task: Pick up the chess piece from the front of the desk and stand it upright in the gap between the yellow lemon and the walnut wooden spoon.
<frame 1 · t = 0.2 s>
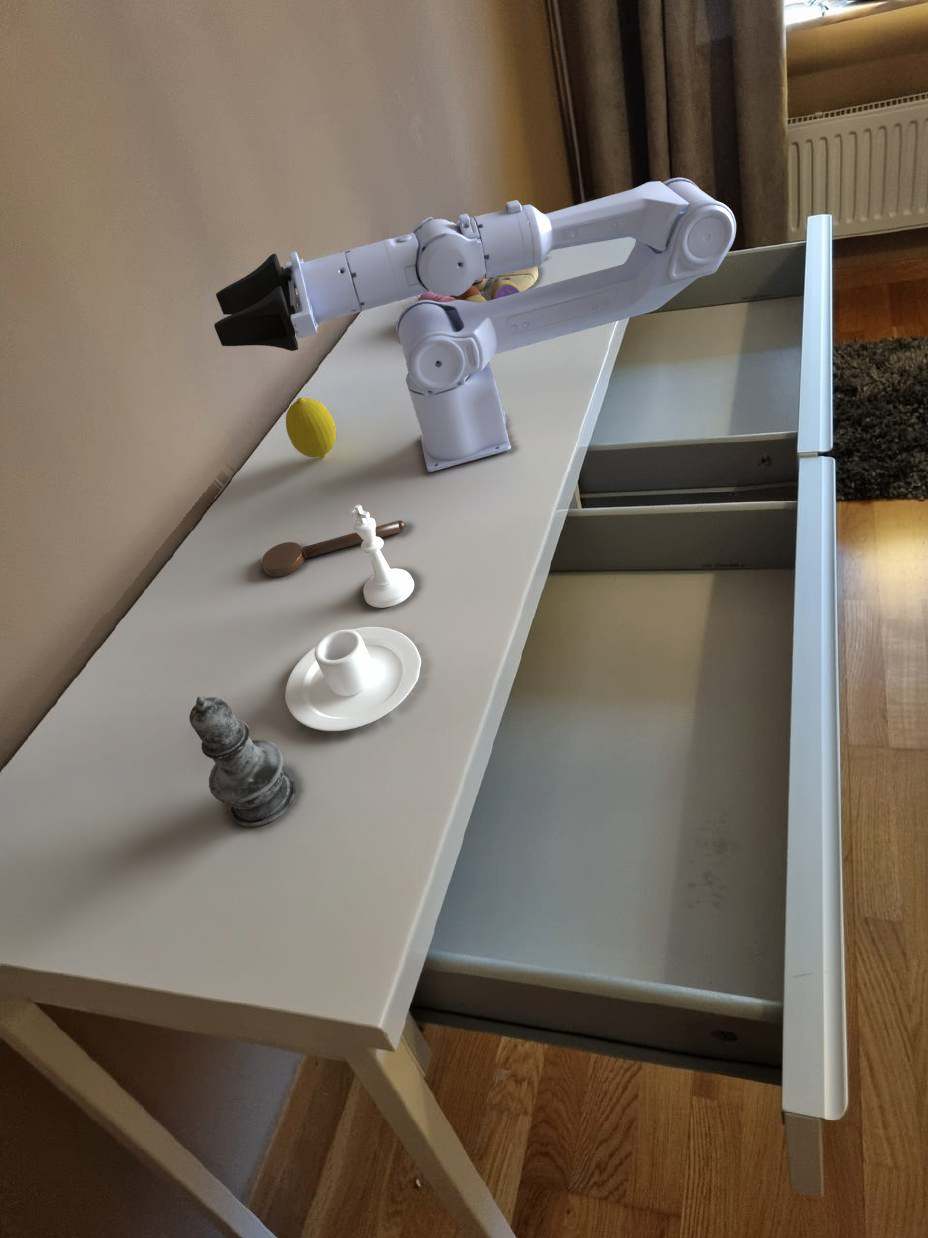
hand: (218, 318, 87), 21 cm above the table, tool horizontal, fingers open, 7 cm apart
dark grey turned piece: (264, 799, 69), on the table
toy food set: (477, 304, 128), on the table
spoon: (326, 551, 91), on the table
chess piece: (389, 591, 85), on the table
candle holder: (355, 683, 77), on the table
lemon: (323, 458, 106), on the table
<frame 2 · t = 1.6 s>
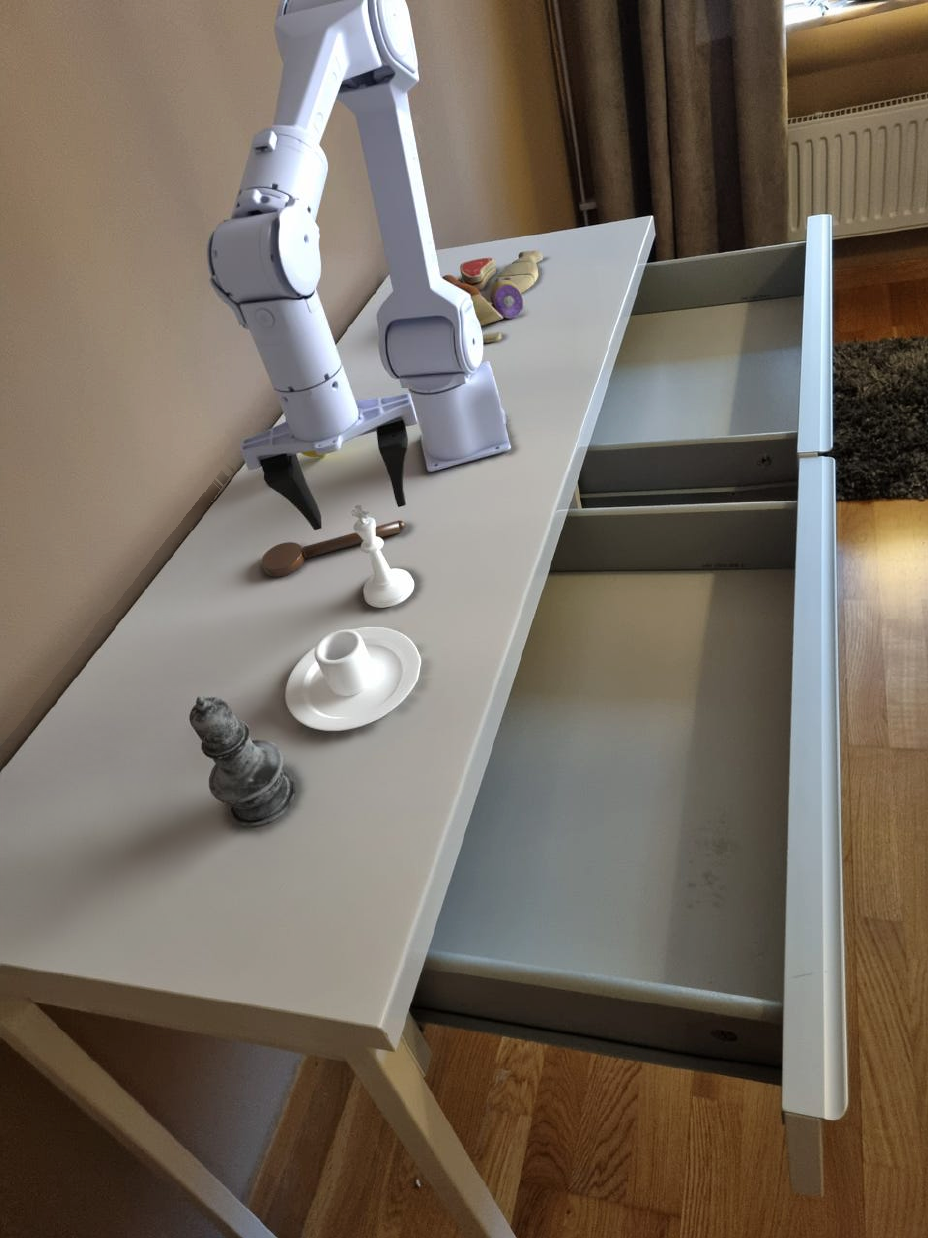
hand: (359, 511, 78), 9 cm above the table, tool pointing down, fingers open, 7 cm apart
nothing on the table moved.
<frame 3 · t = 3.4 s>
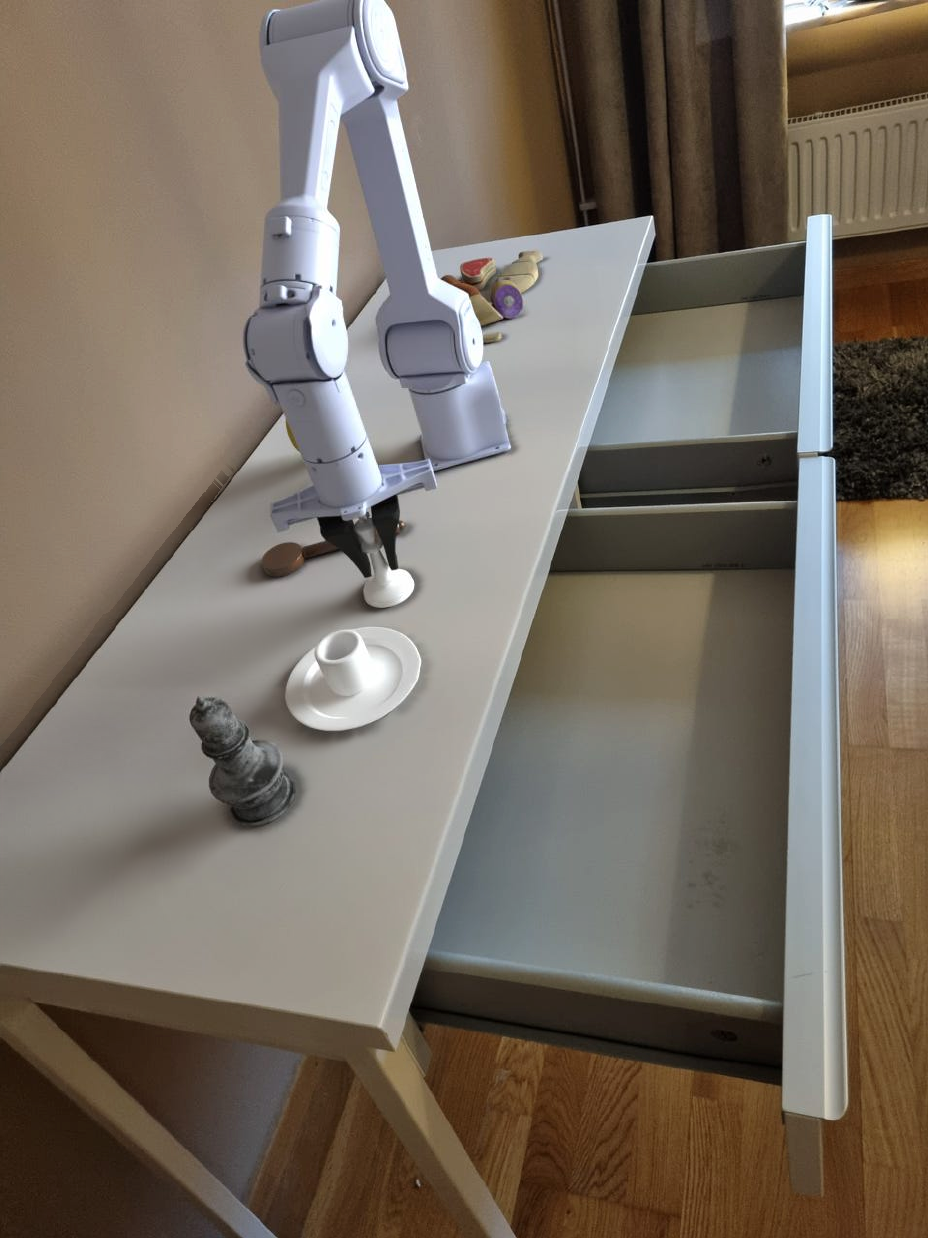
hand: (380, 567, 83), 3 cm above the table, tool pointing down, fingers closed on chess piece
chess piece: (389, 591, 85), on the table, touching gripper
everything else where it was.
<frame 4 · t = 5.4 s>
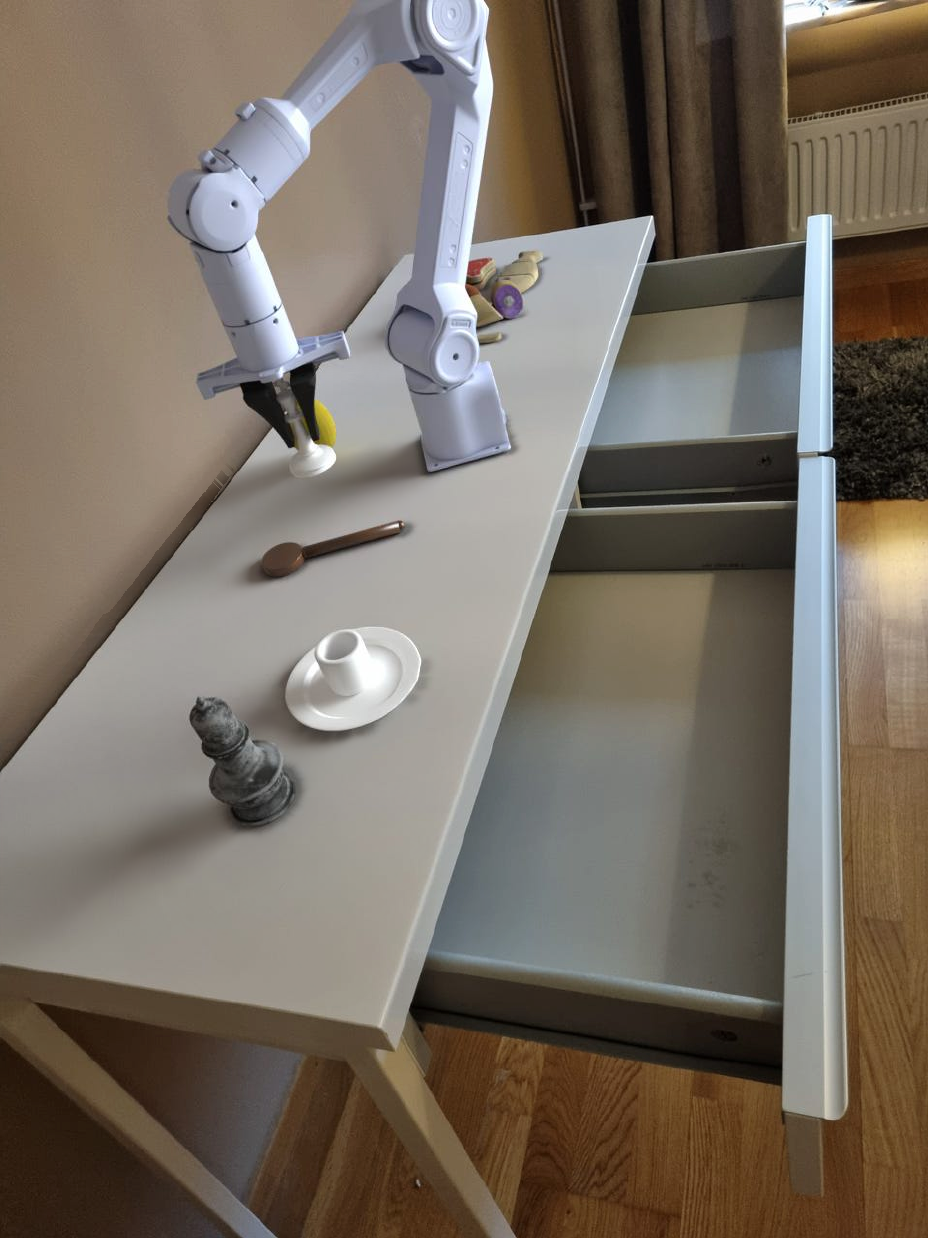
hand: (303, 439, 89), 10 cm above the table, tool pointing down, fingers closed on chess piece
chess piece: (314, 465, 91), point 7 cm above the table, touching gripper
everything else where it was.
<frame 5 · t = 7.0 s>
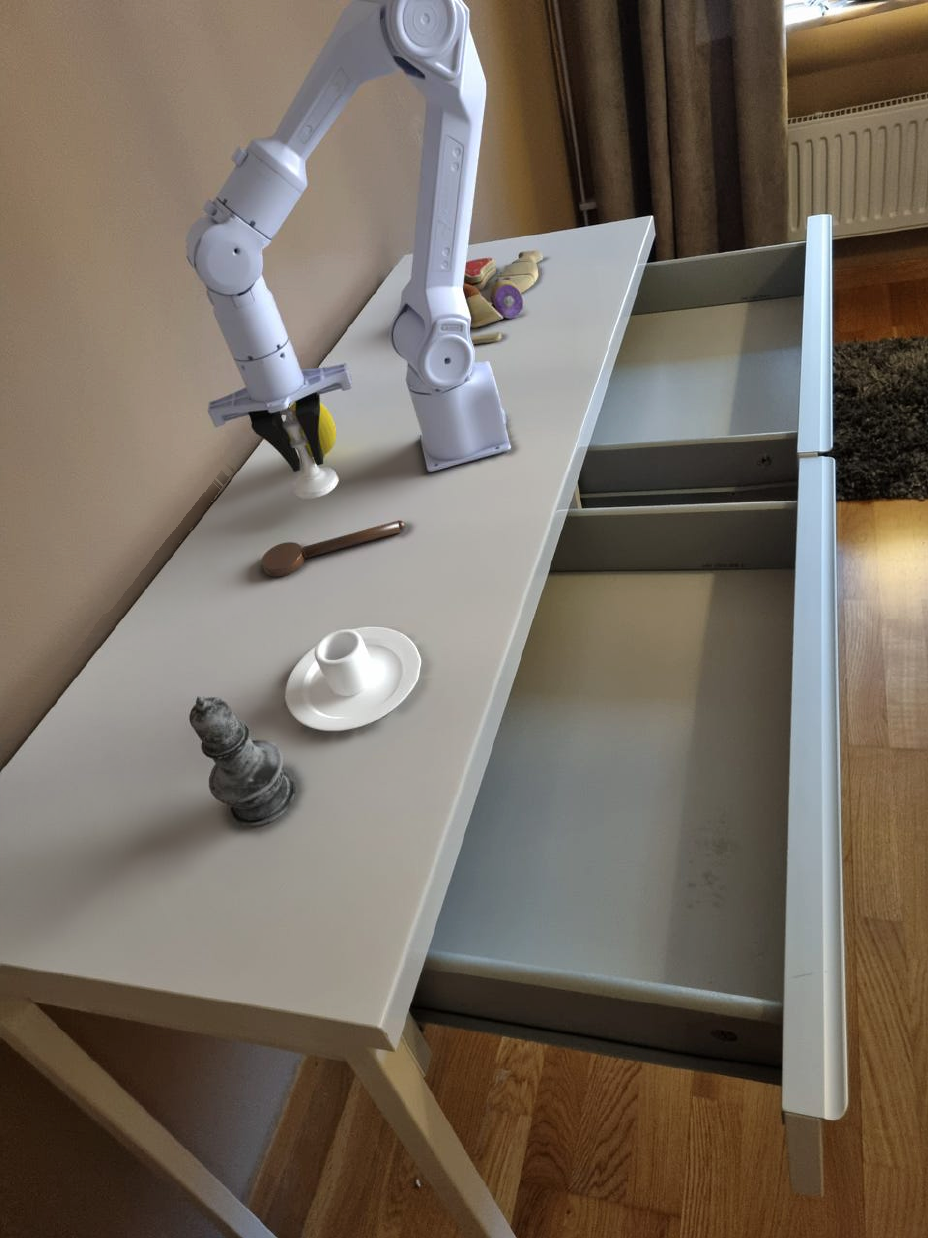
hand: (308, 463, 95), 5 cm above the table, tool pointing down, fingers closed on chess piece
chess piece: (317, 486, 97), point 2 cm above the table, touching gripper
everything else where it was.
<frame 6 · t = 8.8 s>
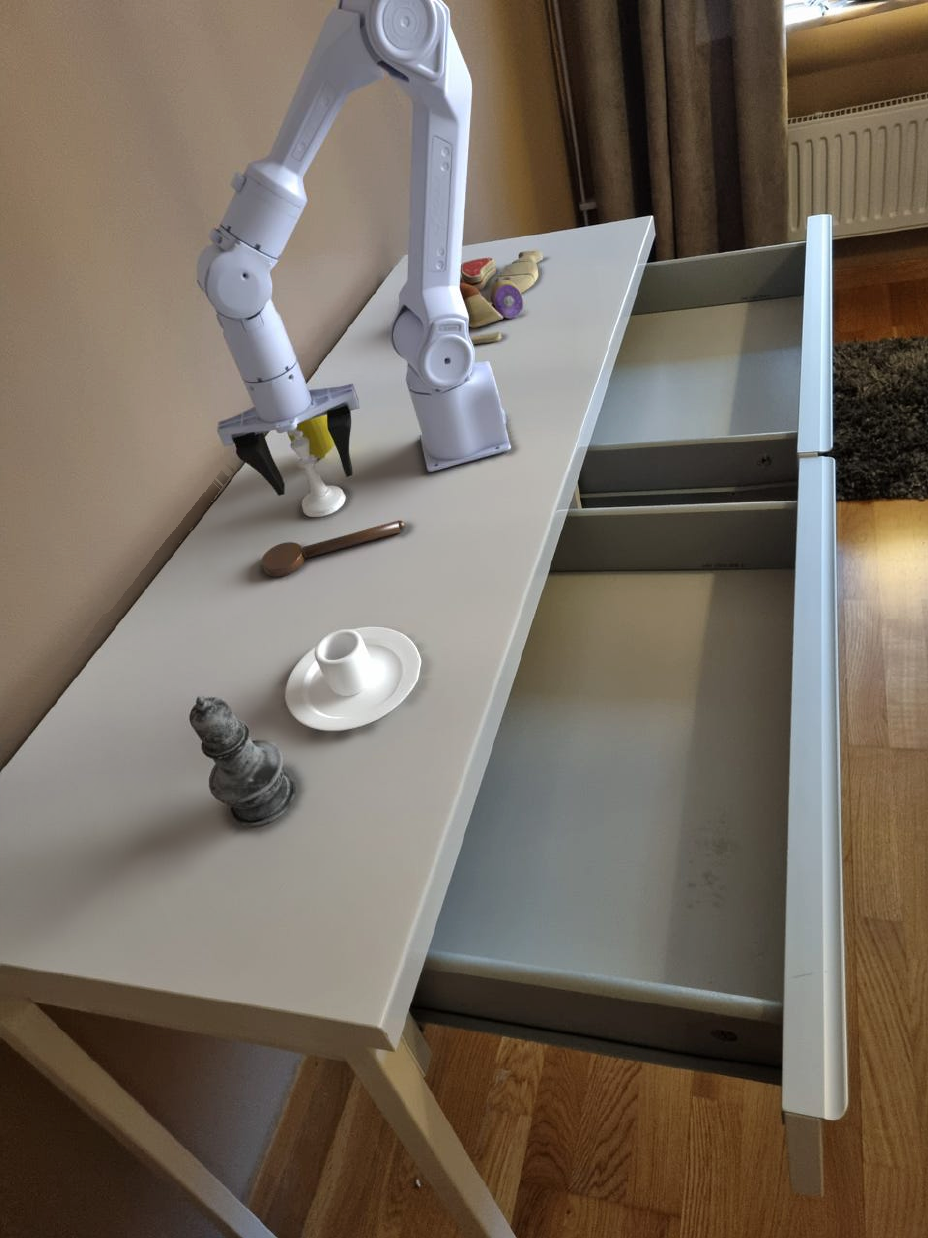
hand: (315, 480, 96), 3 cm above the table, tool pointing down, fingers open, 7 cm apart
chess piece: (325, 505, 98), on the table
everything else where it was.
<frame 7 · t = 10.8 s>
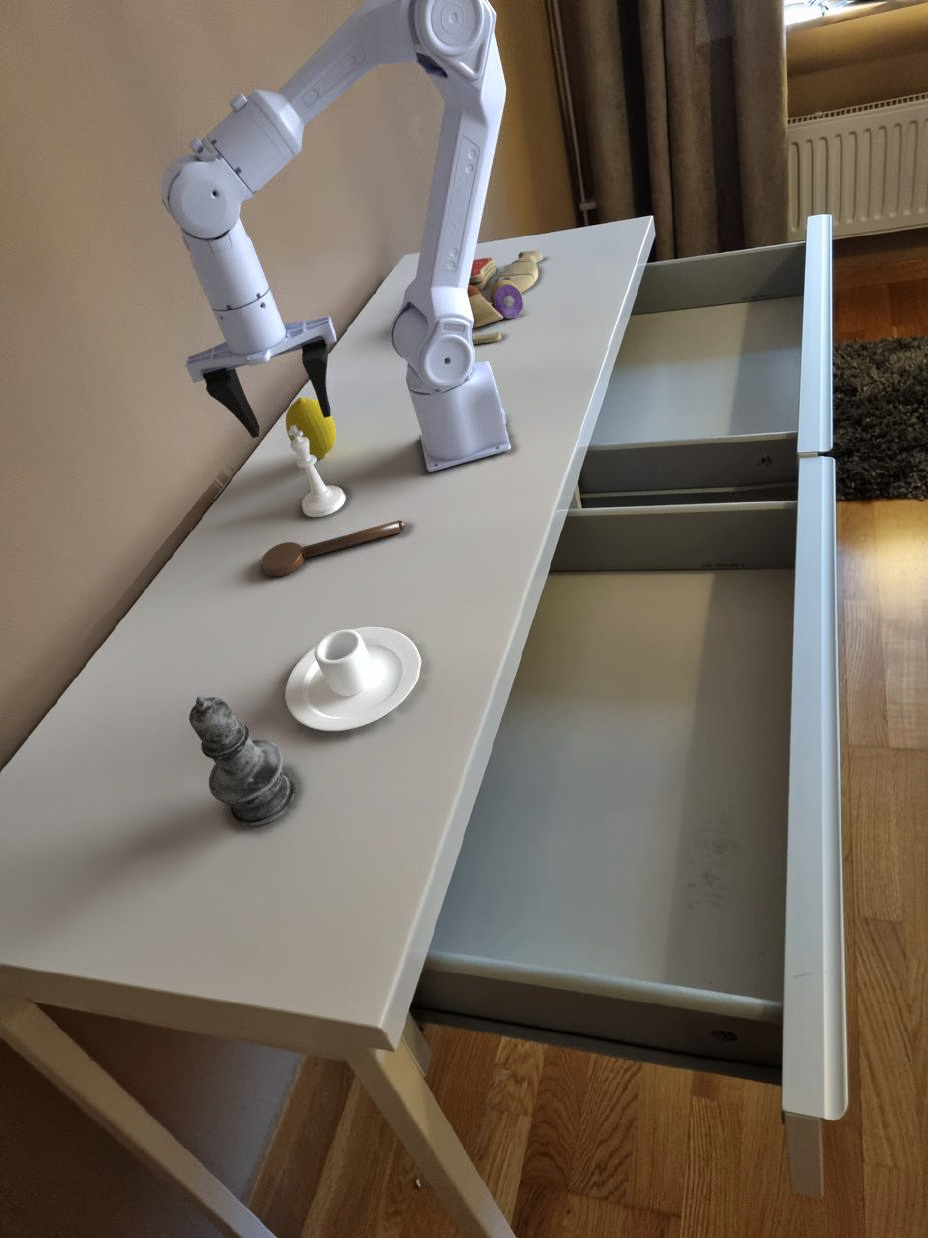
hand: (291, 422, 91), 10 cm above the table, tool pointing down, fingers open, 7 cm apart
nothing on the table moved.
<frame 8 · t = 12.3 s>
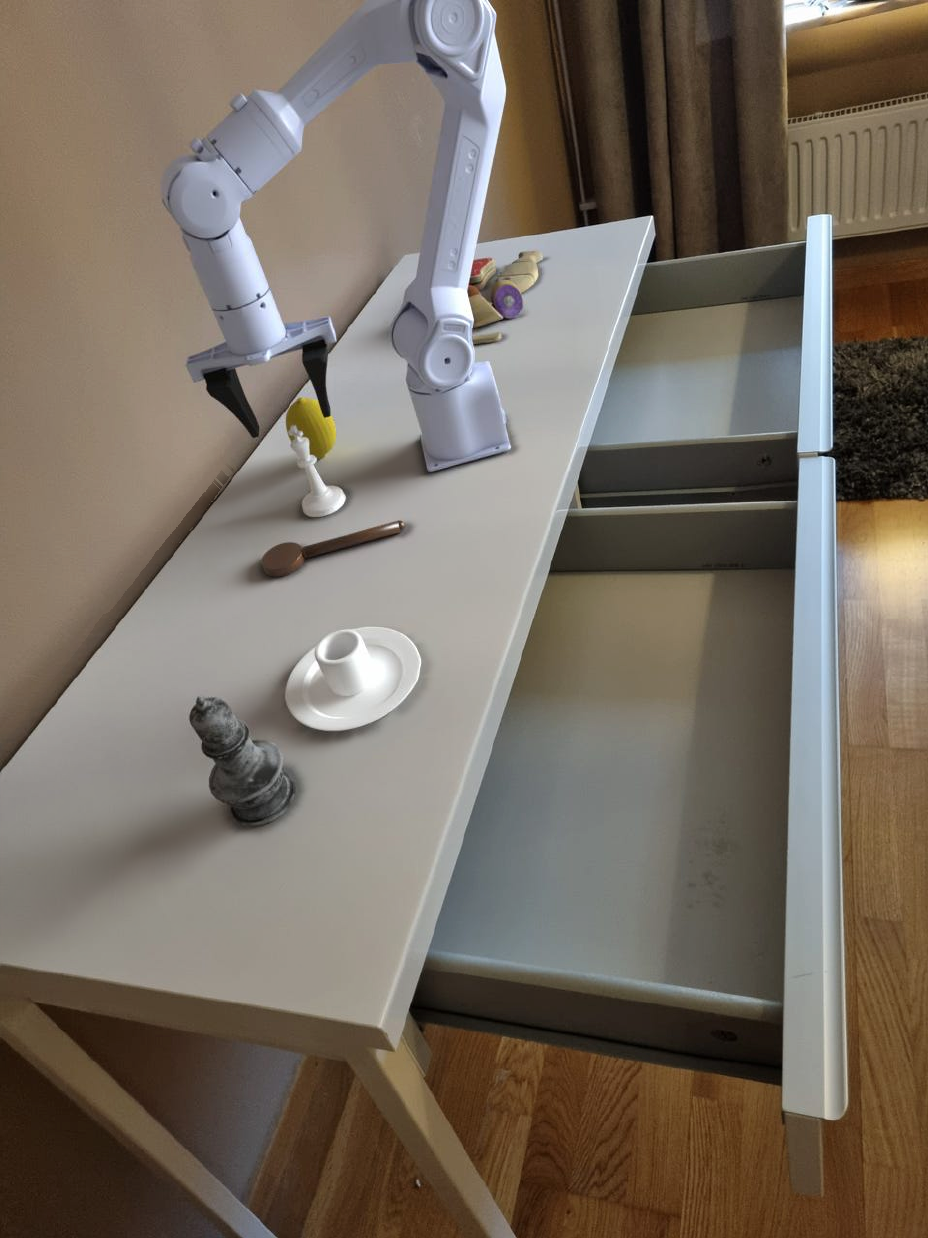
hand: (291, 422, 91), 10 cm above the table, tool pointing down, fingers open, 7 cm apart
nothing on the table moved.
at the end: chess piece inside the target area on the table beside the lemon (0.0 cm from its centre), on the table; chess piece inside the target area on the table beside the spoon (0.5 cm from its centre), on the table; chess piece tilted 0° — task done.
